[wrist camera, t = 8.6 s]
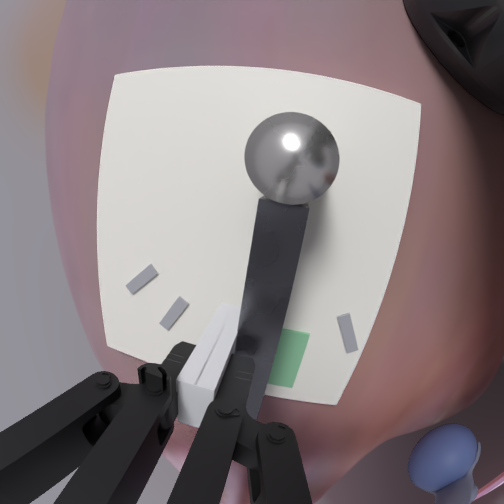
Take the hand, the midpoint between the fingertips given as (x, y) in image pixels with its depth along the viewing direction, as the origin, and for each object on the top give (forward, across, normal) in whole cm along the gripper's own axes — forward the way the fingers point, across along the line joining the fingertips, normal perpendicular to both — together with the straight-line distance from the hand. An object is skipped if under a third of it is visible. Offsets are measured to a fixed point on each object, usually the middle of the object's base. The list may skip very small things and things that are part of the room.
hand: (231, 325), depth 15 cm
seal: (+4, +26, -15) cm, 30 cm away
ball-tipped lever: (+2, +2, +2) cm, 3 cm away
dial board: (+4, -1, +4) cm, 5 cm away
